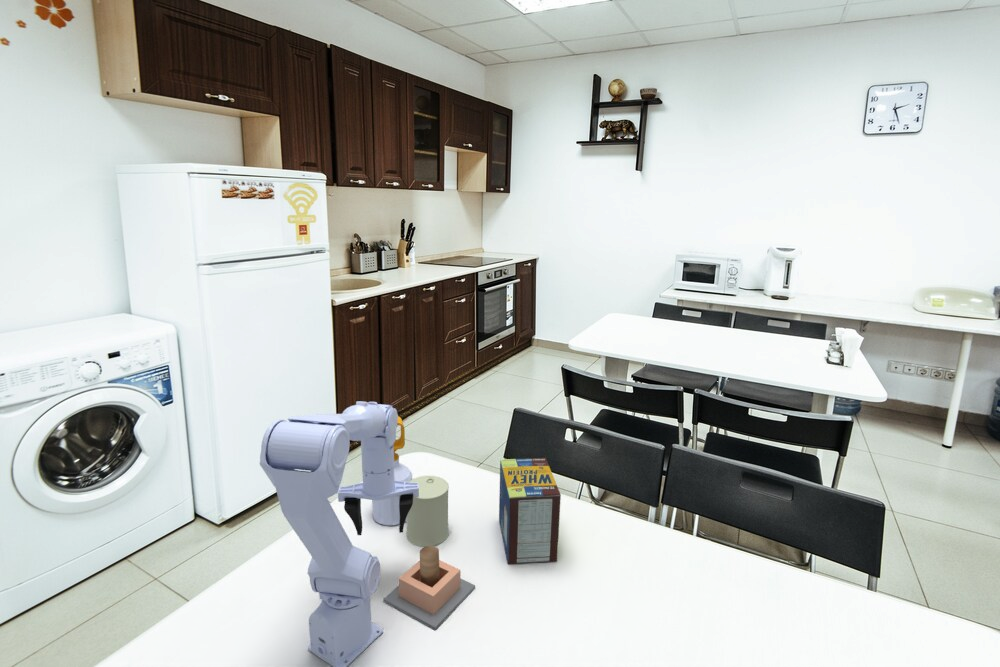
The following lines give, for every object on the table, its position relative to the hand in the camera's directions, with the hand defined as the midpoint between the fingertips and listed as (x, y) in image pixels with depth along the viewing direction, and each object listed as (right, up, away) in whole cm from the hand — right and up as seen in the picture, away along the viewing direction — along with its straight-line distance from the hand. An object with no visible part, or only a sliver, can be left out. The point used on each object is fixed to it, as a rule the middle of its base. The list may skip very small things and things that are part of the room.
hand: (380, 530), depth 101 cm
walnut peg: (+10, -10, -2) cm, 14 cm away
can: (+7, -6, +15) cm, 18 cm away
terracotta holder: (+10, -11, -2) cm, 15 cm away
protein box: (+28, -7, +14) cm, 32 cm away
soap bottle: (-2, -5, +22) cm, 22 cm away
